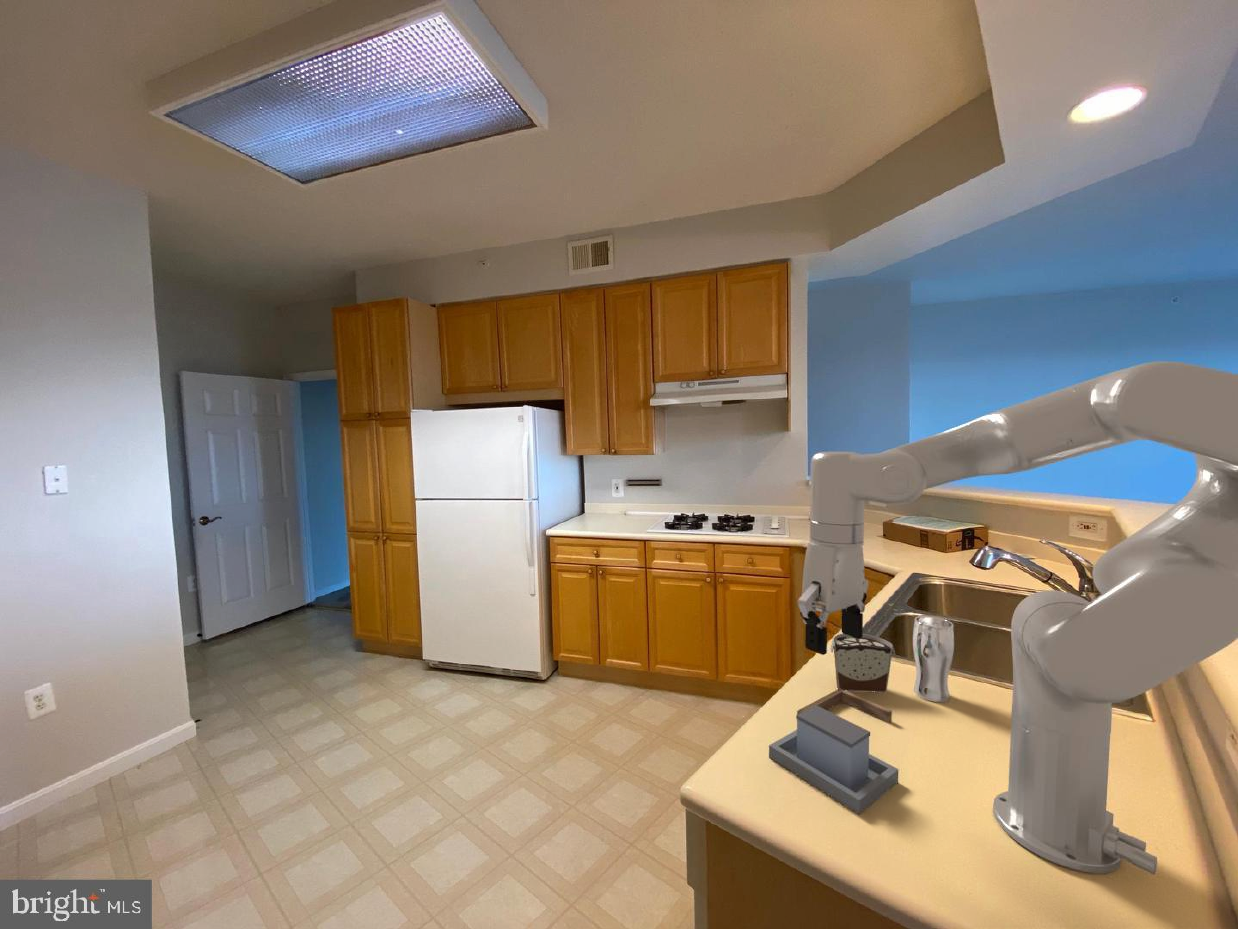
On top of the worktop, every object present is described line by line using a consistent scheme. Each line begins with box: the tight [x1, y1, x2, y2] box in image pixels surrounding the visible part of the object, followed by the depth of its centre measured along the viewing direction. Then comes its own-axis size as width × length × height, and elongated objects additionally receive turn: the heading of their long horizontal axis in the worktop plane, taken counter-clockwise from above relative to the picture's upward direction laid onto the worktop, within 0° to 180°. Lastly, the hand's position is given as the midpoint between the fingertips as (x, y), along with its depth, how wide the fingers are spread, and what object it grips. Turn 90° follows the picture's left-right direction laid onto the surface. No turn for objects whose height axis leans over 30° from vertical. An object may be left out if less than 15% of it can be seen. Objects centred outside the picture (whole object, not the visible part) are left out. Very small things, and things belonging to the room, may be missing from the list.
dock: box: [796, 688, 893, 724], centre depth 91 cm, size 10×14×2 cm
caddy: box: [795, 705, 871, 790], centre depth 77 cm, size 5×9×7 cm, turn 35°
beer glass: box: [912, 615, 955, 703], centre depth 99 cm, size 7×7×15 cm
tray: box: [768, 729, 899, 815], centre depth 78 cm, size 15×11×2 cm
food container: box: [830, 633, 896, 693], centre depth 104 cm, size 12×6×10 cm, turn 84°
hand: (834, 643), depth 76 cm, fingers open, 9 cm apart
